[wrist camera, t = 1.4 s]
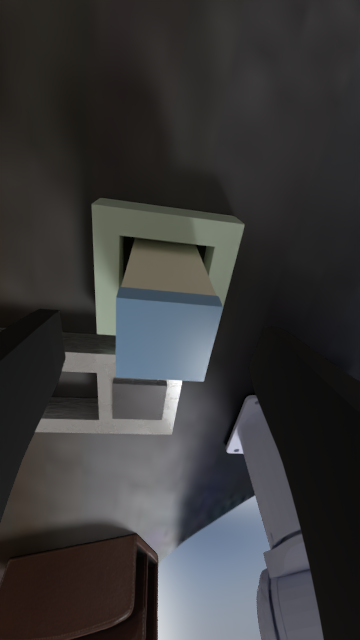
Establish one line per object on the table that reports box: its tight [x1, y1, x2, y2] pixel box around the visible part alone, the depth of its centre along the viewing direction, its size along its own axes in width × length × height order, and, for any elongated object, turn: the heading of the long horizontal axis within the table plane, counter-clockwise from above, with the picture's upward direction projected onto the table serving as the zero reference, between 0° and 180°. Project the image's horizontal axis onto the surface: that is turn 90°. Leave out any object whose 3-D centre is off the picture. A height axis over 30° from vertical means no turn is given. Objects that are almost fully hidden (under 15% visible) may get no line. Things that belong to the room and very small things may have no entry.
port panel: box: [0, 328, 182, 435], centre depth 18 cm, size 12×8×2 cm, turn 82°
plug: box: [116, 238, 223, 382], centre depth 12 cm, size 4×4×7 cm
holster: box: [92, 198, 245, 341], centre depth 14 cm, size 7×7×2 cm
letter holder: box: [0, 534, 158, 640], centre depth 34 cm, size 10×20×14 cm, turn 105°
